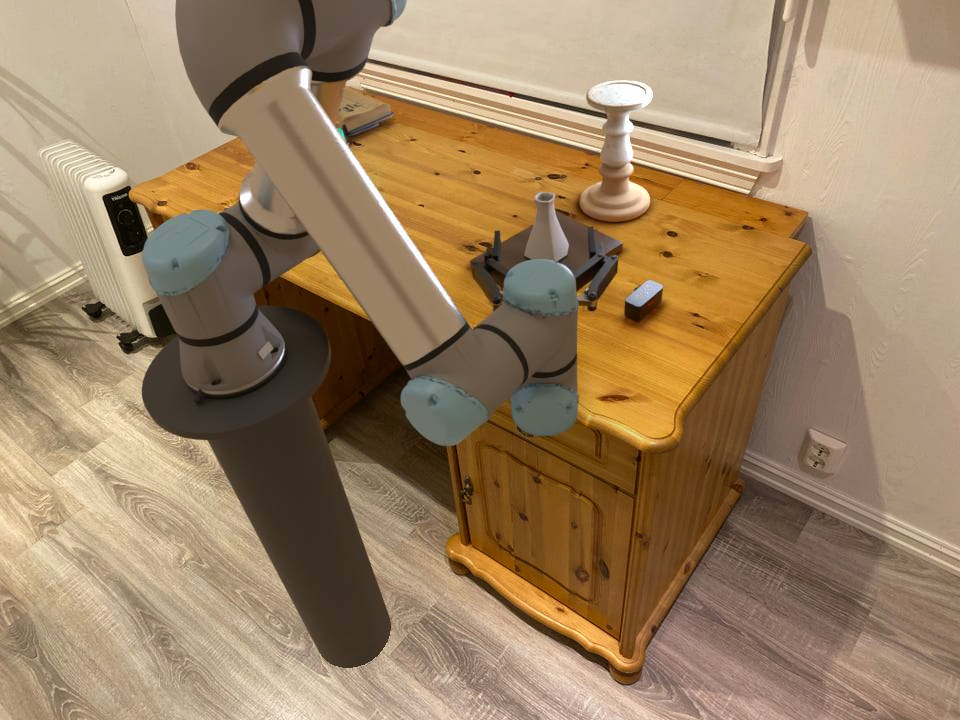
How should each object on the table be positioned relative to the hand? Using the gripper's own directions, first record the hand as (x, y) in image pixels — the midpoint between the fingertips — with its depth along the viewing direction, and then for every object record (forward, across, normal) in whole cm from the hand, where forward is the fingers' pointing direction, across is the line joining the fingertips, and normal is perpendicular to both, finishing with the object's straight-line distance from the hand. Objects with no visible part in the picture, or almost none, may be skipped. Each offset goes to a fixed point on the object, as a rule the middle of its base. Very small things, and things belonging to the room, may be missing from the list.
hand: (544, 236), depth 105 cm
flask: (+7, 0, -8) cm, 10 cm away
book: (+59, -48, -9) cm, 76 cm away
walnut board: (+7, 0, -9) cm, 12 cm away
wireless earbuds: (-6, +14, -9) cm, 18 cm away
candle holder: (+23, +12, -9) cm, 28 cm away
